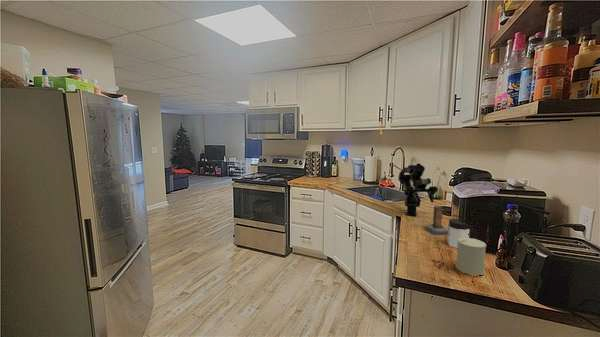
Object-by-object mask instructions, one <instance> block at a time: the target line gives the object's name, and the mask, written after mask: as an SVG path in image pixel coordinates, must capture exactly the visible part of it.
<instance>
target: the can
mask: <svg viewBox="0 0 600 337" xmlns="http://www.w3.org/2000/svg"><path fill="white" fill-rule="evenodd" d="M486 249H487V244H486V243H485V242H484V241H483V240H481V239H480V240H479V239H477V238H471V237H469V238H459V239H458V246H457V248H456V251H457V252H456V261H455V262H456V264H455V269H456V268H457V269H458V270H459V271H458V270H457V269H456V270H457V271H458V272H460V271H461V272H464V273H467V274H471V275H483V274H484V275H485V259H486ZM461 272H460V273H461ZM464 273H463V274H464ZM484 275H483V276H484Z"/></svg>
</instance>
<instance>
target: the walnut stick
mask: <svg viewBox="0 0 600 337" xmlns="http://www.w3.org/2000/svg"><path fill="white" fill-rule="evenodd" d="M442 219H443V207H442V206H437V205H435V206H433V219H432V224H433V227H434V228H441V225H442V222H443V221H442Z"/></svg>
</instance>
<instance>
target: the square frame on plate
mask: <svg viewBox="0 0 600 337" xmlns="http://www.w3.org/2000/svg"><path fill="white" fill-rule="evenodd" d="M423 229H424V230H425V231H427V232H428V233H429V234H431V235H432V236H442V235H443V236H448V229H447V227H445V226H443V225H442V224H441V228H434V227H433V223H429V224H428V226H423Z"/></svg>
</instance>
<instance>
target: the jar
mask: <svg viewBox="0 0 600 337" xmlns="http://www.w3.org/2000/svg"><path fill="white" fill-rule="evenodd" d="M458 219H459V218H451V219H449V220H448V224H447V231H448V235H447V245H448V246H449V247H451V248H455V249H457V246H458V239H459V238H470V228H469V229H468V224H466V223H462V222H460V221H459V220H458ZM468 234H469V235H468Z"/></svg>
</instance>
